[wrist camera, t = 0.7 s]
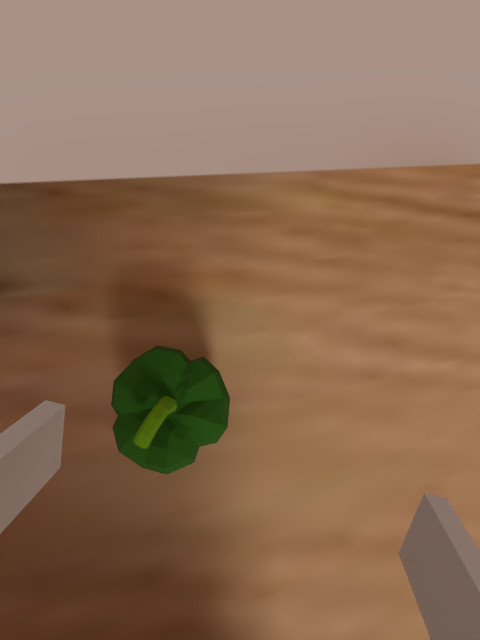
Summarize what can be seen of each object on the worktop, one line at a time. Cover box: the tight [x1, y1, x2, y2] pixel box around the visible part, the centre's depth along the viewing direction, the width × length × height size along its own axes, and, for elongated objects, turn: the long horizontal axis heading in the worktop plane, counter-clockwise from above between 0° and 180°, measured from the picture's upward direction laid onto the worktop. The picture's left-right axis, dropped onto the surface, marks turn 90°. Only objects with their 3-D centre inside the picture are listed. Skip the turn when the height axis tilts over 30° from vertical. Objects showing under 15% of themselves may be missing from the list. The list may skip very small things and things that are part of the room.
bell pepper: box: [111, 346, 230, 474], centre depth 26 cm, size 8×8×10 cm
